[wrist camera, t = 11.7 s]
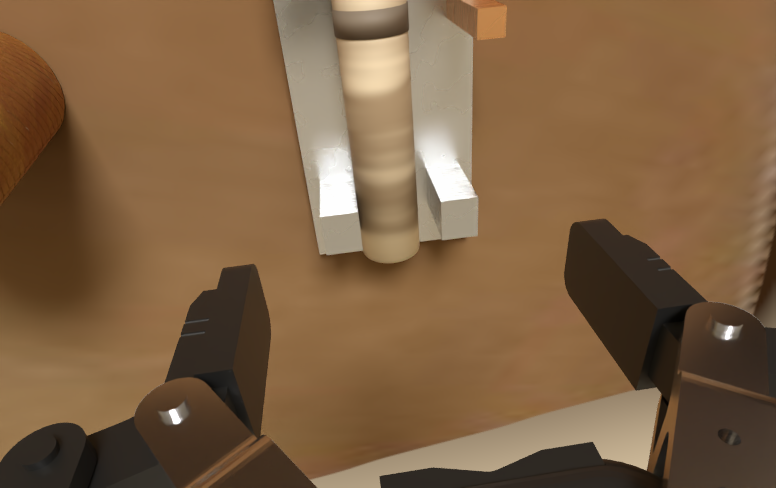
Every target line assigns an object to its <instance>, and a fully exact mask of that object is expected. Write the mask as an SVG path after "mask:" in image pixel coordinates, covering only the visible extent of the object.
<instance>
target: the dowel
mask: <svg viewBox="0 0 776 488" xmlns="http://www.w3.org/2000/svg"><path fill="white" fill-rule="evenodd" d="M331 3H332V8H331V11H332V19H333V27H334V35H335V37H336V42H337V50H338V58H339V66H340V74H341V82H342V89H343V97H344V105H345V113H346V121H347V129H348V137H349V144H350V152H351V160H352V168H353V176H354V184H355V192H356V200H357V207H358V215H359V223H360V231H361V239H362V246H363V252H364V254H365V256H366V257H367V258H369V259H371V260H373V261H376V262H380V263H397V262H401V261H405V260H407V259H409V258H411V257H413V256H414V255H415V254H416V253H417V252H418V250H419V248H420V241H419V223H418V204H417V185H416V167H415V148H414V129H413V111H412V92H411V73H410V55H409V36H408V30H409V16H408V1H407V0H331Z"/></svg>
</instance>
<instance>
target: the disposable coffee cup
mask: <svg viewBox="0 0 776 488" xmlns="http://www.w3.org/2000/svg"><path fill="white" fill-rule="evenodd" d="M64 110H65V104H64V96H63V93H62V90H61V87H60V84H59V82H58V81H57V79H56V77H55V75H54V73H53V72H52V70H51V69H50V68H49V66H48V65H47V64H46V62H45V61H44V60H43V59H42V58H41V57H40V56H39V55H38V54H37V53H36V52H35V51H33V50H32V49H31V48H29V47H28V46H27V45H25V44H24V43H23V42H21V41H19V40H17V39H15V38H14V37H12V36H10V35H8V34H5V33H2V32H0V206H1V204H2V203H3V202H4V201H5V199H6V198H7V197H8V195H9V194H10V193H11V191H12V190H13V189H14V187H15V186H16V185H17V183H18V182H19V181H20V179H21V178H22V177H23V176H24V175H25V173H26V172H27V171H28V169H29V168H30V167H31V165H32V164H33V163H34V161H35V160H36V159H37V157H38V156H39V154H40V153H41V152H42V151H43V149H44V148H45V147H46V145H47V144H48V143H49V141H50V140H51V139H52V137H53V136H54V135H55V134H56V132H57V131H58V130H59V128H60V126H61V124H62V122H63V118H64Z"/></svg>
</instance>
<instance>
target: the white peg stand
mask: <svg viewBox="0 0 776 488" xmlns="http://www.w3.org/2000/svg"><path fill="white" fill-rule="evenodd" d="M407 1H408V16H409V30H408V36H409V55H410V73H411V92H412V111H413V129H414V148H415V167H416V185H417V204H418V223H419V241H420V242H422V241H429V240H437V239H442V240H449V239H457V238H464V237H472V236H478V196H477V194H476V193H475V191H474V189H473V187H472V186H471V171H472V81H473V38H475V39H476V40H483V39H493V38H502V37H505V34H506V11H507V6H506V5H504V4H501V3H499V2H497V1H494V0H407ZM273 2H274V7H275V13H276V18H277V24H278V29H279V35H280V40H281V46H282V51H283V56H284V62H285V67H286V73H287V78H288V84H289V89H290V95H291V100H292V106H293V111H294V117H295V122H296V128H297V133H298V139H299V144H300V149H301V155H302V160H303V166H304V171H305V177H306V182H307V188H308V193H309V199H310V204H311V210H312V215H313V221H314V226H315V232H316V237H317V242H318V248H319V253H320V255H321V254H326V255H333V254H340V253H348V252H356V251H363V246H362V239H361V231H360V223H359V215H358V207H357V200H356V192H355V184H354V176H353V168H352V160H351V152H350V144H349V137H348V129H347V121H346V113H345V105H344V97H343V89H342V82H341V74H340V66H339V58H338V50H337V42H336V37H335V35H334V27H333V19H332V11H331V8H332V3H331V0H273Z"/></svg>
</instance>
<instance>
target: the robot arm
mask: <svg viewBox="0 0 776 488" xmlns="http://www.w3.org/2000/svg"><path fill="white" fill-rule="evenodd" d="M564 278H565V285H566V289H567V291H568V294H569V296H570V297H571V299H572V300H573V301H574V303H575V304H576V306H577V307H578V309H579V310H580V311H581V313H582V314H583V316H584V317H585V319H586V320H587V321H588V323H589V324H590V326H591V327H592V329H593V330H594V331H595V333H596V334H597V336H598V337H599V338H600V340H601V341H602V343H603V344H604V346H605V347H606V348H607V350H608V351H609V353H610V354H611V356H612V357H613V358H614V360H615V361H616V363H617V364H618V366H619V367H620V368H621V370H622V371H623V373H624V374H625V376H626V377H627V378H628V380H629V381H630V383H631V384H632V385H633V387H634V388H635V390H642V389H649V388H655V387H657V388H658V390H659V391H660V392H661V396H660V400H659V403H658V408H657V414H656V420H655V426H654V431H653V437H652V444H651V450H650V455H649V461H648V467H647V471H646V470H644V469H641V468H638V467H636V466H633V465H629V464H626V463H623V462H617V461H613V460H607V459H602V458H601V456H600V455H599V453H598V451H597V449H596V447H595V445H594V444H593V442H589V443H583V444H576V445H570V446H564V447H558V448H552V449H545V450H541V451H538V452H536V453H534V454H532V455H529V456H527V457H525V458H523V459H520V460H518V461H516V462H514V463H512V464H509V465H507V466H505V467H503V468H500V469H498V470H495V471H492V472H482V471H469V470H457V469H444V468H428V469H421V470H415V471H409V472H403V473H396V474H390V475H384V476H380V484H381V488H776V328H767V327H764V326H763V325H762V323H761V322H760V321H759V320H758V319H757V318H756V317H754V316H753V315H752V314H750V313H748V312H746V311H745V310H742V309H740V308H738V307H735V306H732V305H729V304H725V303H719V302H708V301H707V300H705V299H704V298H703V297H702V296H701V295H700V294H699V293H698V292H697V291H696V290H695V289H694V288H693V287H692V286H691V285H689V284H688V283H687V282H686V281H685V280H684V279H683V278H682V277H681V276H680V275H679V274H678V273H677V272H676V271H675V270H673V269H672V270H671V268H670V266H669V265H668V264H667V263H666V262H665V261H664V260H663V259H660V256H659V255H657V254H656V253H655V252H654V251H653V250H652V249H651V248H650V247H649V246H648V245H647V244H645V243H643V242H641V241H639V240H637V239H635V238H633V237H631V236H629V235H622V234H621V233H620V232H619V231H618V230H617V229H616V228H615V227H614V226H613V225H612V224H611V223H610V222H609V221H607V220H606V219H597V220H589V221H582V222H575V223H573V224H572V226H571V229H570V234H569V242H568V249H567V257H566V264H565V272H564ZM270 340H271V326H270V318H269V313H268V309H267V305H266V301H265V297H264V293H263V290H262V286H261V282H260V278H259V274H258V271H257V268H256V266H255V265H254V264H250V265H243V266H235V267H227V268H223V269H222V272H221V276H220V279H219V283H218V287H217V289H215V290H208V291H203V292H202V293H201V294H200V296H199V297H198V298H197V299H196V300H195V301H194V302H193V303H192V304H191V305H190V308H189V311H188V314H187V317H186V320H185V324H184V326H183V329H182V332H181V337H180V338H179V341H178V344H177V347H176V350H175V353H174V356H173V359H172V362H171V365H170V368H169V371H168V374H167V377H166V380H165V383H164V384H162V385H160V386H158V387H156V388H155V389H153V390H152V391H151V392H150V393H148V394H147V395H146V396H145V397H144V398H143V399H142V401H141V402H140V403H139V405H138V407H137V409H136V411H135V414H134V417H132V418H130V419H128V420H126V421H124V422H121V423H119V424H116V425H114V426H111V427H109V428H106V429H104V430H101V431H98V432H96V433H93V434H91V435H88V436H87V435H86V434H85V432H84V430H83V429H82V428H81V427H80V426H78V425H76V424H73V423H57V424H53V425H49V426H46V427H44V428H41V429H39V430H37V431H35V432H33V433H31V434H30V435H28V436H26V437H25V438H24V439H22V440H21V441H19V442H18V443H17V444H16V445H15V446H13V448H12V449H11V450H10V451H9V452H8V453H7V454H6V455H5V456H4V458H3V459H2V461H1V462H0V488H317V487H316V486H315V485H314V484H313V483H312V482H311V481H310V480H309V479H308V478H307V476H306V475H305V474H304V473H303V472H302V471H301V470H300V469H299V468H298V467H297V466H296V465H295V464H294V463H293V462H292V461H291V460H290V459H289V457H288V456H287V455H286V454H285V453H284V452H283V451H282V450H281V449H280V448H279V447H278V446H277V445H276V444H275V443H274V442H273V441H272V440H271V439H270V438H269V437H267V436H266V435H261V436H260V433H261V423H262V414H263V405H264V396H265V386H266V377H267V368H268V358H269V349H270Z"/></svg>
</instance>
